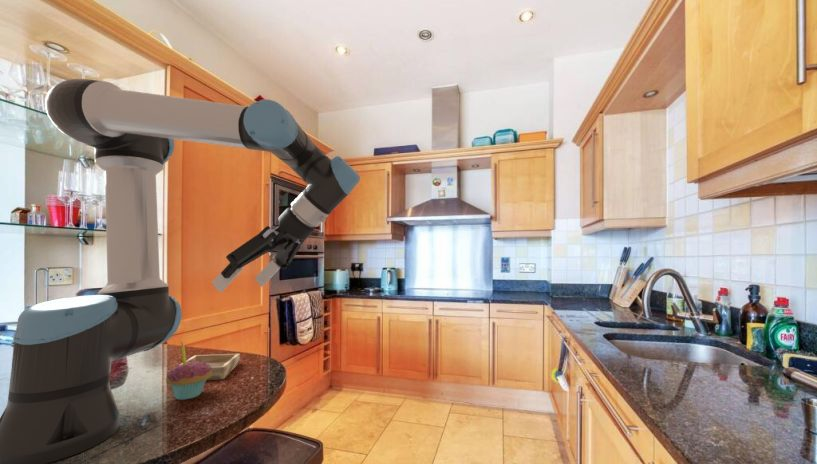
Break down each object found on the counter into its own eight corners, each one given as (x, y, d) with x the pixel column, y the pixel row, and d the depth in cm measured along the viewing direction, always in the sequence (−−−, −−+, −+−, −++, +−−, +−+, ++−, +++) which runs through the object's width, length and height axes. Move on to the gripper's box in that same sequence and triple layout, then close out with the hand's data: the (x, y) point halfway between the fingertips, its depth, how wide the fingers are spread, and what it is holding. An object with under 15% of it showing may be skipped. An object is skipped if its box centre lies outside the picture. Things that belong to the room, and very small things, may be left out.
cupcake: (176, 407, 66) (180, 347, 67) (156, 397, 70) (161, 341, 71) (218, 392, 74) (221, 338, 75) (198, 384, 78) (201, 334, 79)
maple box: (223, 379, 81) (224, 367, 82) (170, 381, 79) (171, 369, 80) (239, 364, 93) (240, 353, 94) (194, 366, 91) (194, 355, 91)
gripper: (282, 222, 58) (205, 304, 59) (336, 233, 83) (281, 291, 84) (256, 194, 59) (182, 275, 61) (317, 213, 84) (263, 270, 85)
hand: (239, 284), depth 72 cm, fingers open, 13 cm apart
